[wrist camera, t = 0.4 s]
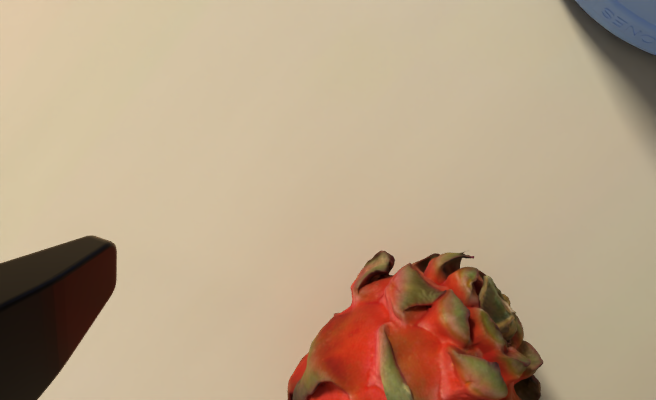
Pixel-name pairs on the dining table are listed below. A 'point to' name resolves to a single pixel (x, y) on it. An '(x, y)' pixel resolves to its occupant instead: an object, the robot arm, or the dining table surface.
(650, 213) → the dining table surface
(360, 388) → the dragon fruit
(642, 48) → the water jug
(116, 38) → the dining table surface
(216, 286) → the dining table surface
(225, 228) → the dining table surface
